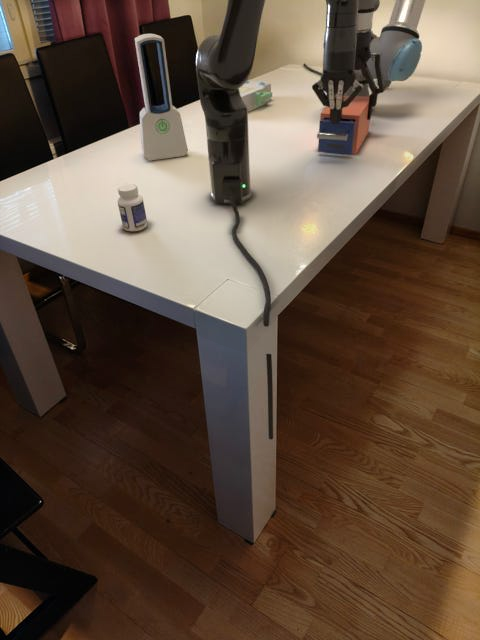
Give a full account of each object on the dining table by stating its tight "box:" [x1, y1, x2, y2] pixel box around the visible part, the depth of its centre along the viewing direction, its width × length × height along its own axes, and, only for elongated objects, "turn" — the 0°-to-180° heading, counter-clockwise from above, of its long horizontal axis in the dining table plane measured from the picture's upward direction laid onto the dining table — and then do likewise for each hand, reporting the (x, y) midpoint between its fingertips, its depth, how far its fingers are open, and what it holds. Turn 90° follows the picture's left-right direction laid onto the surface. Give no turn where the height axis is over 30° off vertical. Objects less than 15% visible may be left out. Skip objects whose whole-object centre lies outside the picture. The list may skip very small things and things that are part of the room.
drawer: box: [316, 118, 356, 155], centre depth 134 cm, size 23×9×8 cm, turn 158°
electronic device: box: [134, 33, 189, 162], centre depth 131 cm, size 12×8×30 cm, turn 105°
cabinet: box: [319, 96, 371, 155], centre depth 139 cm, size 19×10×10 cm, turn 159°
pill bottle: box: [117, 182, 148, 232], centre depth 102 cm, size 5×5×9 cm
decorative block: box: [239, 79, 273, 113], centre depth 175 cm, size 26×6×20 cm
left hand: (335, 123), depth 125 cm, fingers closed
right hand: (349, 117), depth 143 cm, fingers closed on cabinet, 10 cm apart
